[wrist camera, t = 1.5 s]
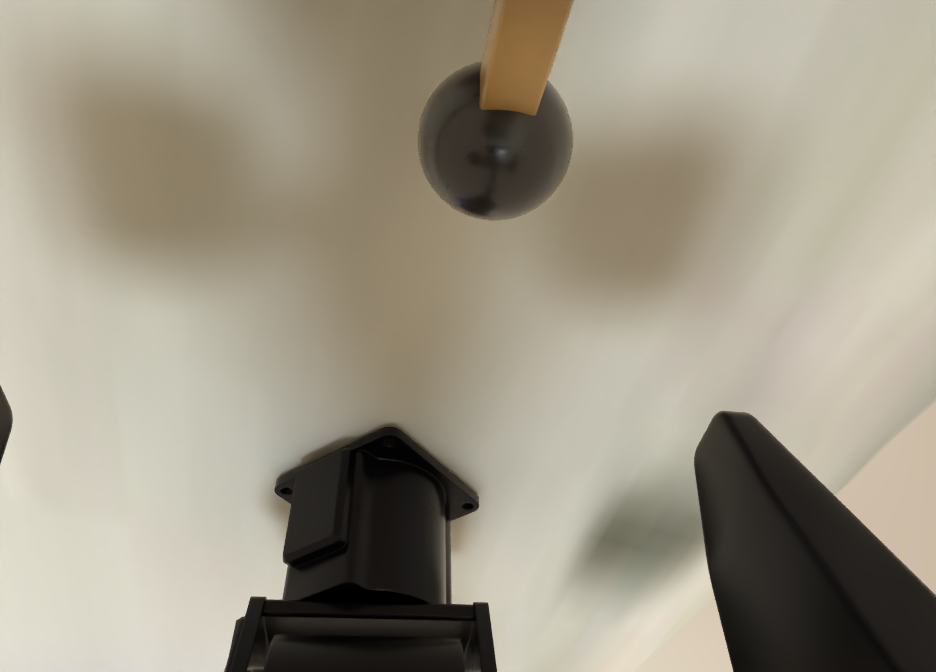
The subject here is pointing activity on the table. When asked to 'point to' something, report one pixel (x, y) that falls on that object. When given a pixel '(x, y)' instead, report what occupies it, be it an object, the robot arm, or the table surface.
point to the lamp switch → (501, 118)
